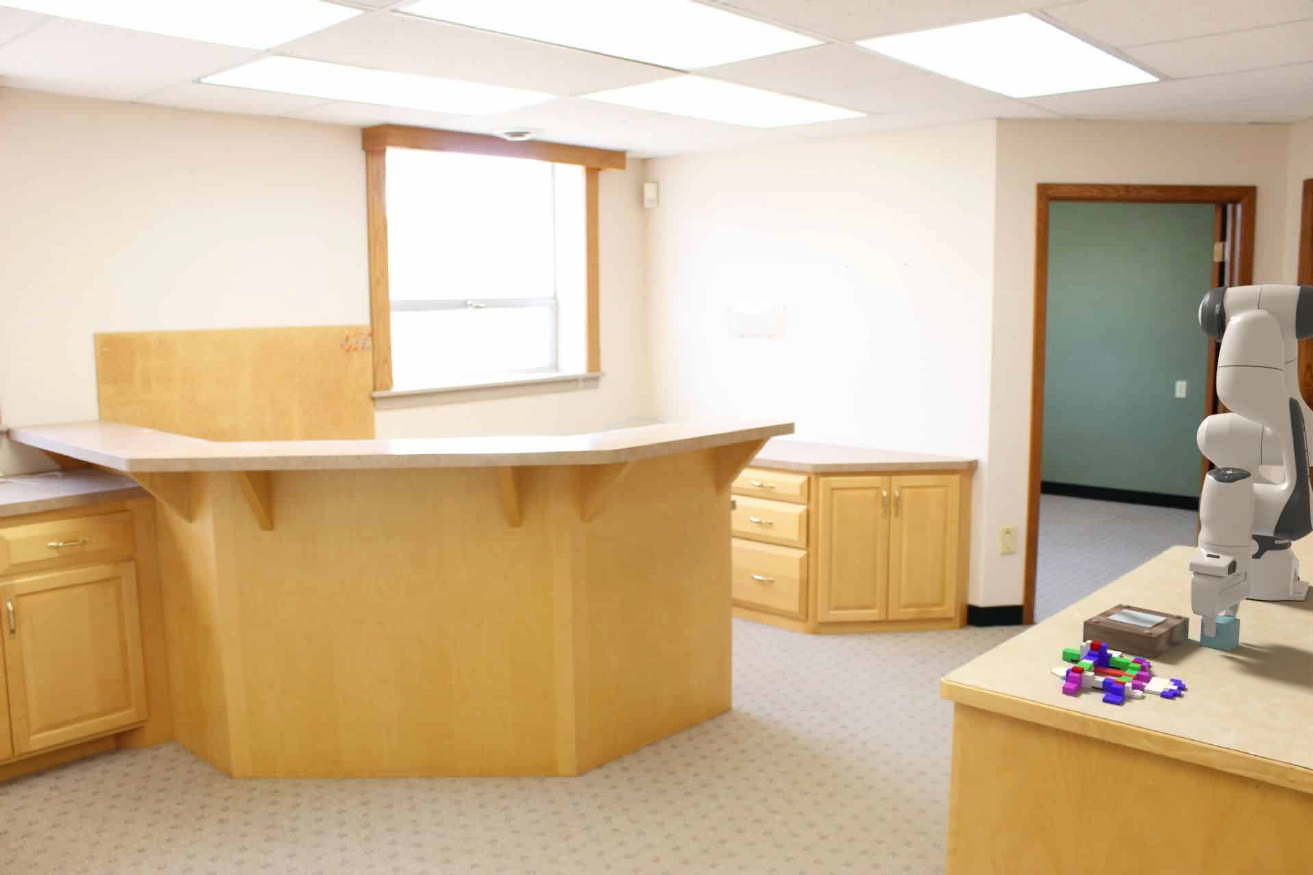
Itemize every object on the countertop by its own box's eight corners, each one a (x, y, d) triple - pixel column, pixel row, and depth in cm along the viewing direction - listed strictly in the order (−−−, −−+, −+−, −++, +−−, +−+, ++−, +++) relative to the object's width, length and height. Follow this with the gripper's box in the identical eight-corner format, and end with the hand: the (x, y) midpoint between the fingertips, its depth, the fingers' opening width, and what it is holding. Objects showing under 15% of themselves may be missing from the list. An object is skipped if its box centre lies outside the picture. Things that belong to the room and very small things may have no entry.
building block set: (1167, 718, 163) (1168, 690, 162) (1033, 690, 175) (1033, 664, 175) (1197, 671, 183) (1199, 646, 182) (1075, 649, 195) (1076, 626, 194)
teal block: (1209, 639, 198) (1211, 613, 198) (1238, 645, 195) (1240, 619, 194) (1199, 645, 195) (1201, 619, 194) (1228, 651, 191) (1230, 624, 191)
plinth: (1119, 623, 208) (1120, 602, 208) (1188, 637, 199) (1189, 615, 198) (1082, 642, 197) (1083, 619, 197) (1153, 658, 188) (1154, 635, 187)
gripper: (1226, 545, 202) (1222, 614, 204) (1185, 563, 188) (1181, 638, 190) (1262, 550, 197) (1257, 621, 199) (1223, 569, 183) (1218, 646, 185)
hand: (1220, 629), depth 194 cm, fingers open, 8 cm apart
